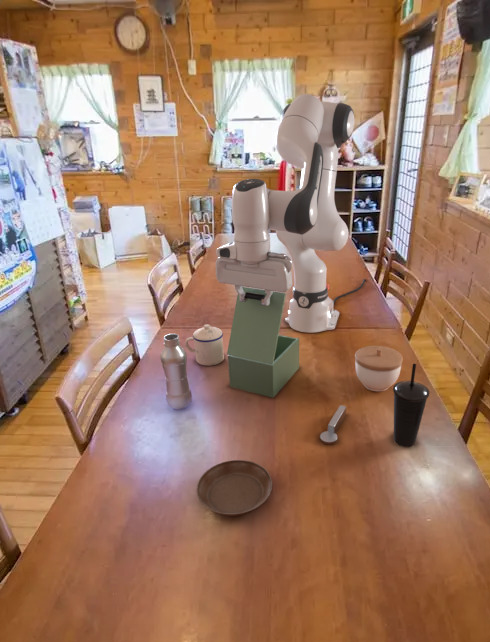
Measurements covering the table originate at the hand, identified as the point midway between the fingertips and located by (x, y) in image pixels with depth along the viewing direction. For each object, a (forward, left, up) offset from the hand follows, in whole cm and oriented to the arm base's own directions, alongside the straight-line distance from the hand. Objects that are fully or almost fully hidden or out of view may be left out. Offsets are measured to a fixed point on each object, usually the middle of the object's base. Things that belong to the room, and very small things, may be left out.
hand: (254, 302), depth 117 cm
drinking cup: (+7, +42, -25) cm, 49 cm away
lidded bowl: (-14, +30, -25) cm, 41 cm away
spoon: (+10, +26, -25) cm, 37 cm away
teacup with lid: (-7, -22, -25) cm, 34 cm away
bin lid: (0, 0, -6) cm, 6 cm away
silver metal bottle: (+17, -14, -25) cm, 33 cm away
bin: (-5, 0, -25) cm, 25 cm away
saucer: (+38, +15, -25) cm, 48 cm away
